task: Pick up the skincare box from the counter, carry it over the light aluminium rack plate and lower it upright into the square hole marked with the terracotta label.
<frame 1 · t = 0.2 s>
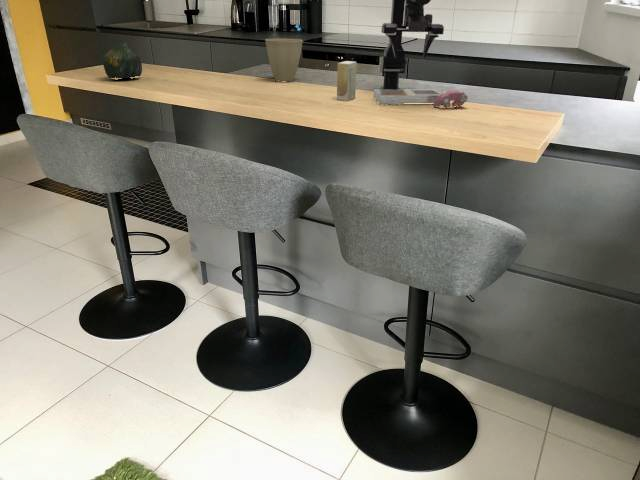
hand: (409, 57, 165), 14 cm above the table, fingers open, 9 cm apart
plant pot: (284, 81, 212), on the table
squash: (124, 79, 209), on the table
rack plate: (408, 101, 175), on the table
skincare box: (345, 99, 177), on the table
video game controller: (449, 108, 166), on the table
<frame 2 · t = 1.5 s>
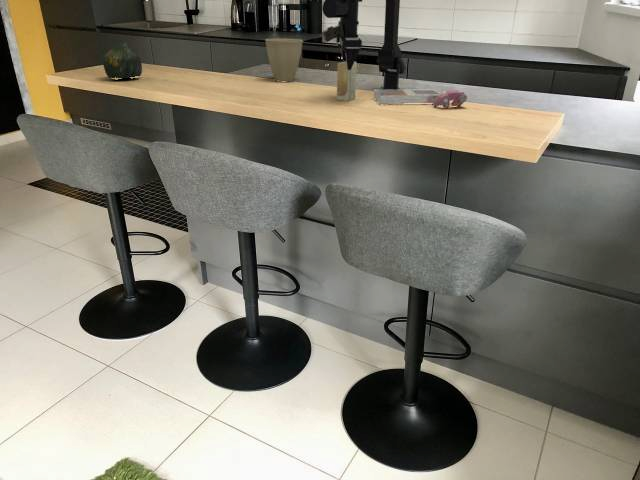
hand: (347, 67, 172), 10 cm above the table, fingers open, 9 cm apart
nothing on the table moved.
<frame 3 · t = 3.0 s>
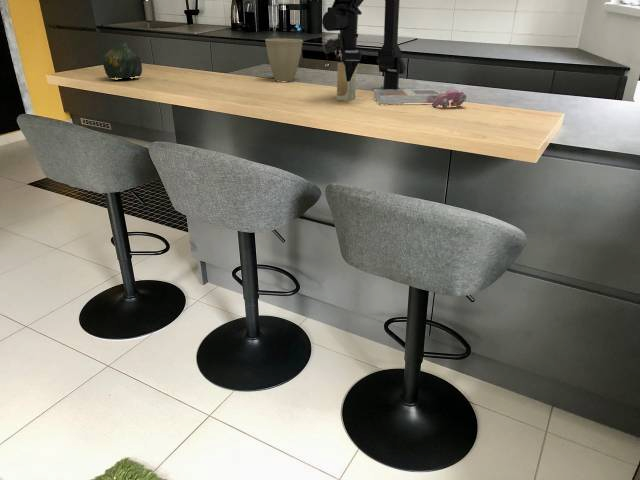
hand: (346, 79, 174), 7 cm above the table, fingers closed on skincare box, 7 cm apart
skincare box: (345, 99, 177), on the table, touching gripper
everything else where it was.
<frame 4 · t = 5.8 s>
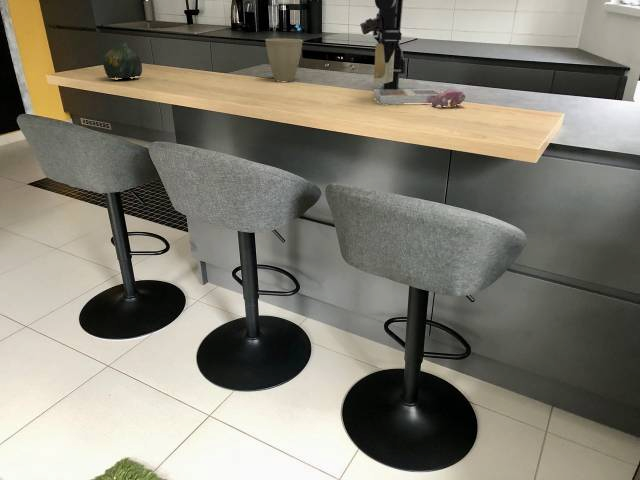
hand: (384, 61, 169), 13 cm above the table, fingers closed on skincare box, 7 cm apart
skincare box: (383, 82, 172), point 6 cm above the table, touching gripper
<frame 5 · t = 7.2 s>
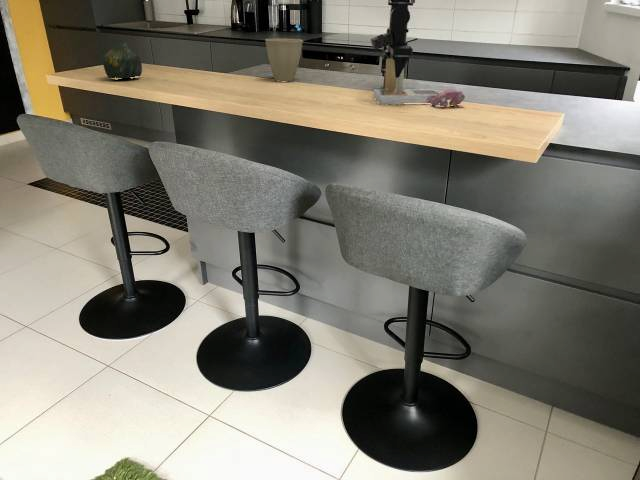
hand: (394, 75, 171), 8 cm above the table, fingers closed on skincare box, 7 cm apart
skincare box: (393, 96, 174), point 1 cm above the table, touching gripper
when the fingers open (8 cm above the table, at t = 8.6 s): skincare box drops 1 cm, resting in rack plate.
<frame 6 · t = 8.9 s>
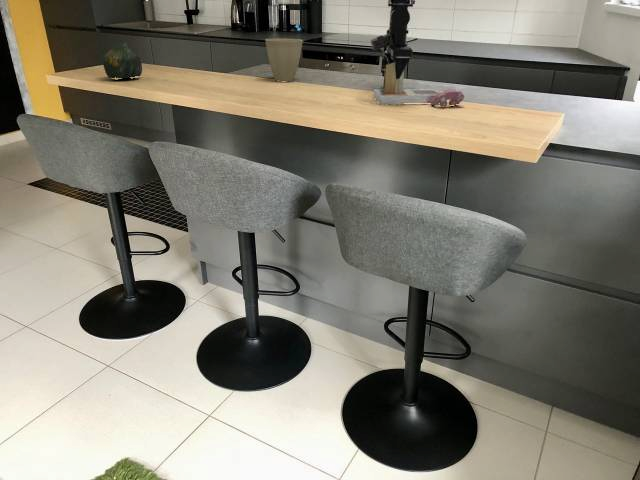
hand: (394, 76, 171), 8 cm above the table, fingers open, 9 cm apart
skincare box: (392, 102, 174), resting in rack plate
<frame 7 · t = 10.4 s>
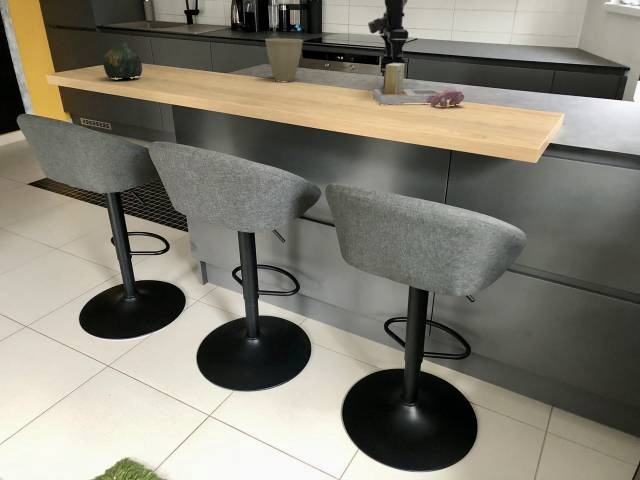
hand: (391, 58, 178), 13 cm above the table, fingers open, 9 cm apart
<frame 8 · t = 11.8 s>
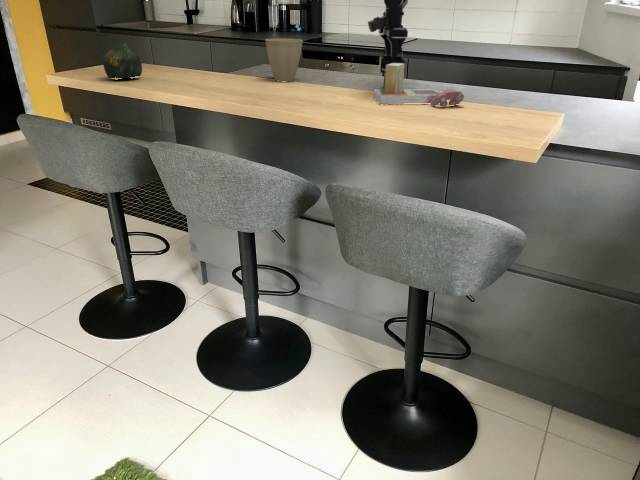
hand: (390, 57, 178), 13 cm above the table, fingers open, 9 cm apart
at the end: skincare box 0.1 cm from the target spot on the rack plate, point 0.0 cm above the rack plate's base; skincare box tilted 0°; the gripper is holding nothing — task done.
